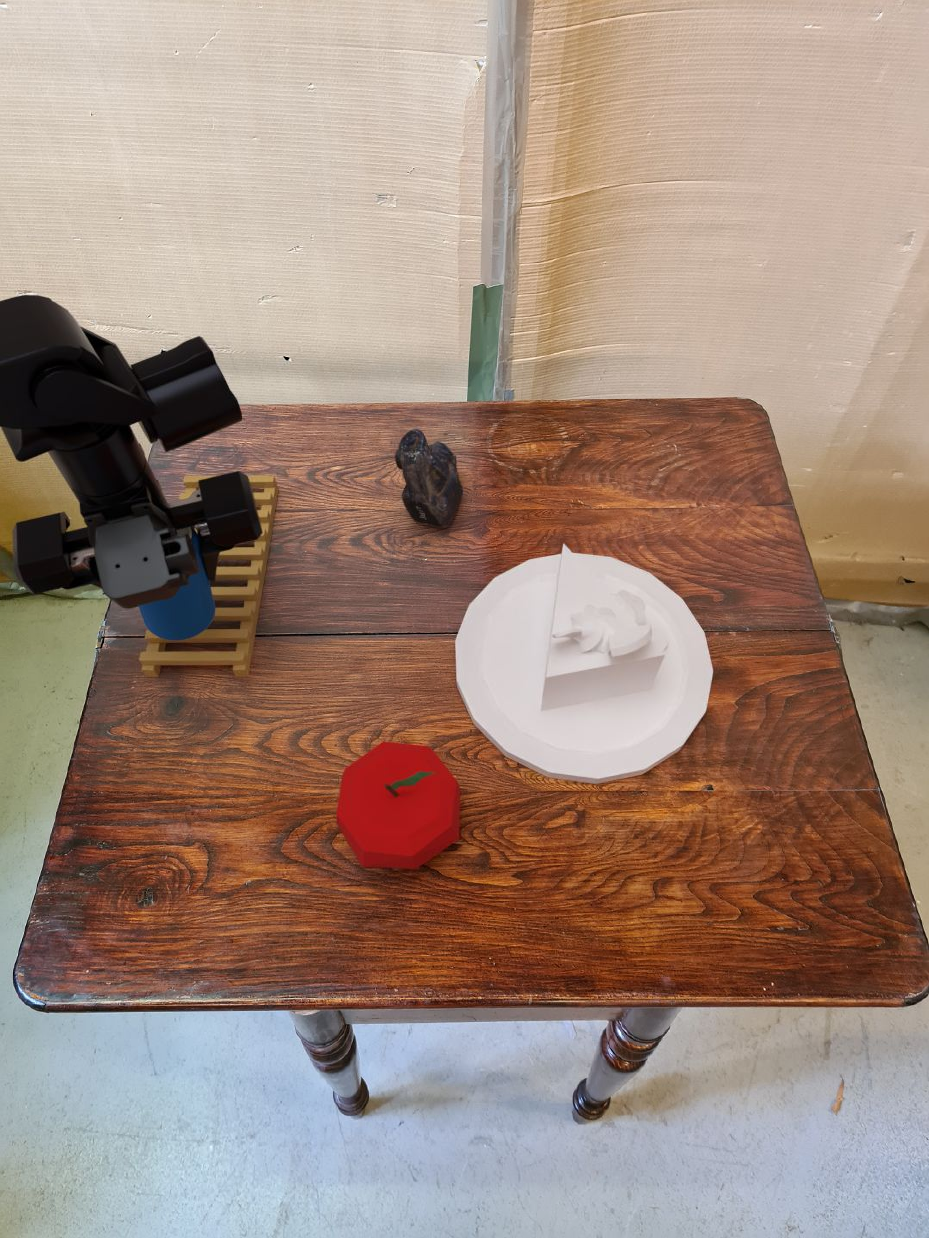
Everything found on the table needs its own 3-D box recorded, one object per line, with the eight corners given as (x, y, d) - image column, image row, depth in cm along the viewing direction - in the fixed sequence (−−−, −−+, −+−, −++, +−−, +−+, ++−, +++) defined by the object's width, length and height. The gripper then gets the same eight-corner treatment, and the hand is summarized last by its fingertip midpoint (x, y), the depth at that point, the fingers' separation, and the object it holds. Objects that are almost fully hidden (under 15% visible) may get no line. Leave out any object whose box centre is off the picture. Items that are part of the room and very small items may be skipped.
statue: (476, 477, 91) (476, 374, 78) (441, 557, 85) (435, 460, 72) (430, 466, 92) (423, 362, 79) (392, 544, 86) (378, 445, 73)
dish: (749, 752, 73) (791, 697, 64) (484, 807, 70) (486, 758, 61) (660, 543, 86) (684, 472, 76) (433, 583, 83) (428, 514, 74)
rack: (248, 677, 78) (242, 664, 75) (146, 677, 78) (137, 665, 76) (278, 490, 90) (274, 474, 88) (191, 490, 90) (184, 475, 88)
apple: (356, 900, 66) (339, 868, 58) (331, 783, 72) (313, 738, 63) (478, 864, 68) (479, 828, 59) (445, 752, 73) (441, 705, 65)
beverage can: (162, 581, 77) (135, 498, 67) (226, 597, 77) (209, 516, 67) (133, 635, 74) (100, 556, 64) (200, 652, 73) (178, 575, 64)
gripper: (-29, 586, 53) (70, 693, 66) (251, 518, 56) (292, 633, 69) (-28, 467, 58) (63, 587, 71) (226, 411, 61) (268, 536, 74)
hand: (172, 588), depth 71 cm, fingers closed on beverage can, 7 cm apart
